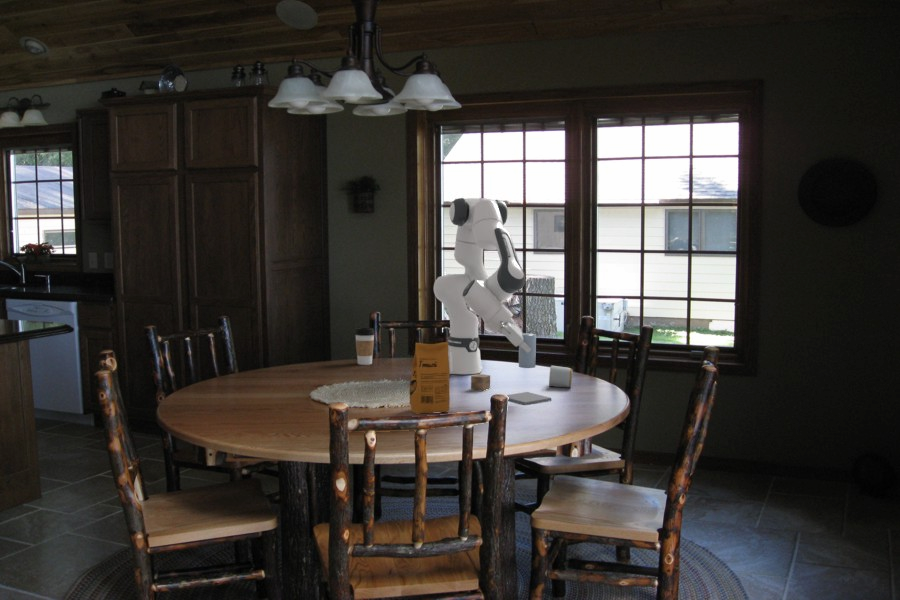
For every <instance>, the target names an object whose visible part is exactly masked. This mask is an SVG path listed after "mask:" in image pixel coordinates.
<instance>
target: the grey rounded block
mask: <svg viewBox="0 0 900 600" xmlns="http://www.w3.org/2000/svg"><path fill="white" fill-rule="evenodd" d="M573 373H574V372H573V368H570V367H566V366H565V367H564V366H560V365H559V366H558V365H557V366H556V365H550V369H549V378H548V387H550V386H554V388H571V387H572V384H573V383H572V382H573Z"/></svg>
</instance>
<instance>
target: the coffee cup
mask: <svg viewBox="0 0 900 600" xmlns="http://www.w3.org/2000/svg"><path fill="white" fill-rule="evenodd" d="M354 335H355V348H356V349H355V350H356V357H357V358H356V359H357V365H361V366H364V365H365V366H367V365H368V366H369V365H372V364H373V355H374V343H375V335H376V333H375V330H374V328H373V327H359V328H355V332H354Z"/></svg>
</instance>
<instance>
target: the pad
mask: <svg viewBox="0 0 900 600" xmlns="http://www.w3.org/2000/svg"><path fill="white" fill-rule="evenodd" d="M506 395H507V396H508V397H509V400H510V402H513V401H514V403H517V402H518V404H520V403H521V405H524V404H527V405H531V403H532V404H537V402H538V403H543V402H542V401H544V402H549V401H548V400H550V401H552V397H550V396H545V395H541V394H537V393H533V392H529V391H524V392H518V393H512V394H506ZM509 400H508V401H509Z"/></svg>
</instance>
